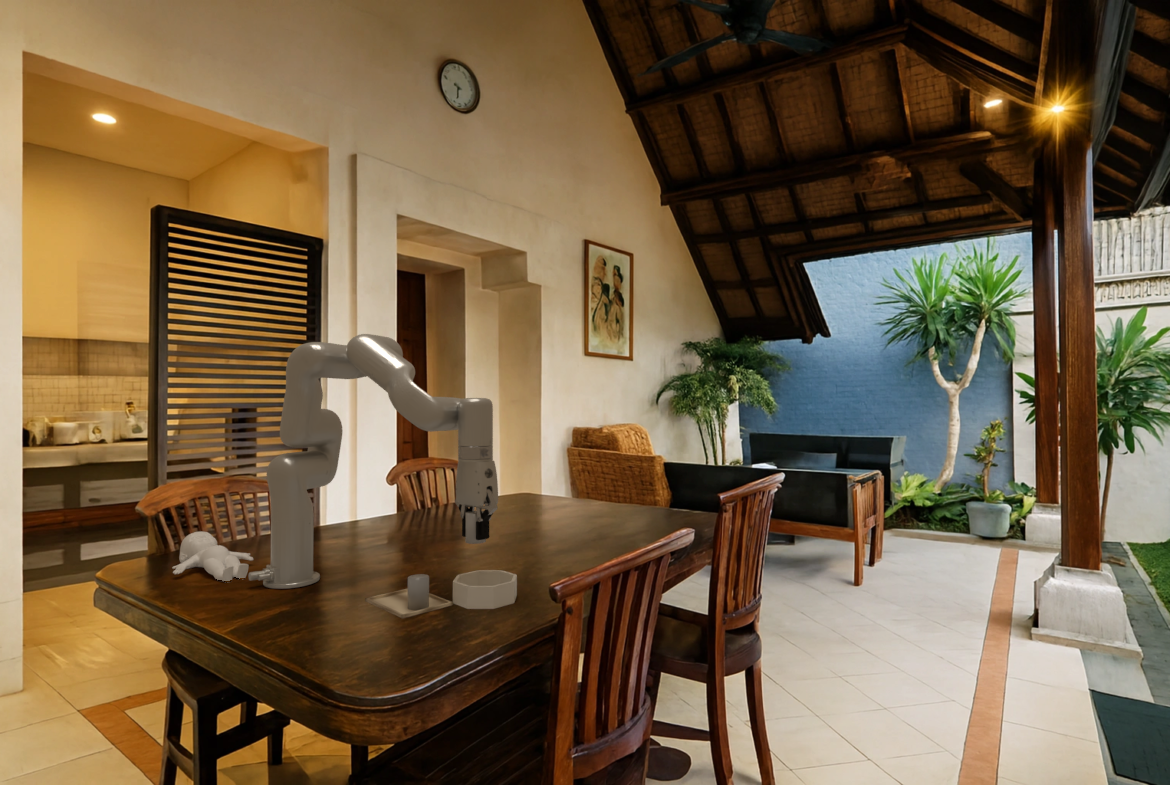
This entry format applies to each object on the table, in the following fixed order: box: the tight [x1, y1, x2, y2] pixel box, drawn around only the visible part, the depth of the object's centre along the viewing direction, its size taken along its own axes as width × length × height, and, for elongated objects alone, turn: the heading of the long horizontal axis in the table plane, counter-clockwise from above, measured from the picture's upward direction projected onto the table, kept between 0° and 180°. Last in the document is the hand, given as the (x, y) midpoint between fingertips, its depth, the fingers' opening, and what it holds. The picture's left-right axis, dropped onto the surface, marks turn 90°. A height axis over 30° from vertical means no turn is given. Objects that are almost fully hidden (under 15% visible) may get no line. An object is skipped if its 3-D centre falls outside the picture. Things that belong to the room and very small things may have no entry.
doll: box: [171, 531, 254, 582], centre depth 167 cm, size 19×9×30 cm
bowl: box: [452, 569, 518, 610], centre depth 142 cm, size 13×13×5 cm
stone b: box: [407, 573, 430, 610], centre depth 137 cm, size 4×4×6 cm
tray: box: [364, 588, 454, 619], centre depth 139 cm, size 12×16×1 cm
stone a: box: [465, 510, 487, 545], centre depth 140 cm, size 4×4×6 cm
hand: (475, 536), depth 140 cm, fingers closed on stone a, 4 cm apart
